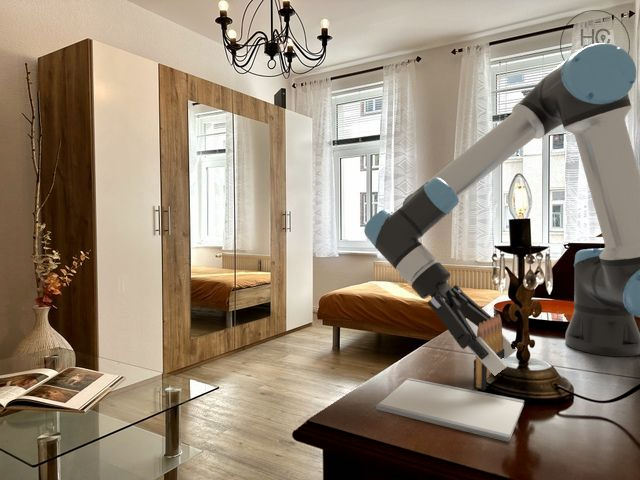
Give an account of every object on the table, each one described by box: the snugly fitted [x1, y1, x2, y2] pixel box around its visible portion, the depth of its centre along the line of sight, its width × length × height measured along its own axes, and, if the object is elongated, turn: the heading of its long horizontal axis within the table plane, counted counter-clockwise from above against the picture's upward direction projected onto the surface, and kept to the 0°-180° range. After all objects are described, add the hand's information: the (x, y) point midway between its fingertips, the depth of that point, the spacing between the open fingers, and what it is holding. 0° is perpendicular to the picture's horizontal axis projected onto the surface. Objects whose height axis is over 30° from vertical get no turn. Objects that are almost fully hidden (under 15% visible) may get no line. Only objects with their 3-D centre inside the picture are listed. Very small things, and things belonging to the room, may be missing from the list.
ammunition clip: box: [473, 313, 505, 391], centre depth 81 cm, size 11×2×12 cm, turn 137°
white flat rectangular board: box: [375, 377, 525, 443], centre depth 70 cm, size 20×14×1 cm
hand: (506, 362), depth 80 cm, fingers closed on ammunition clip, 10 cm apart
